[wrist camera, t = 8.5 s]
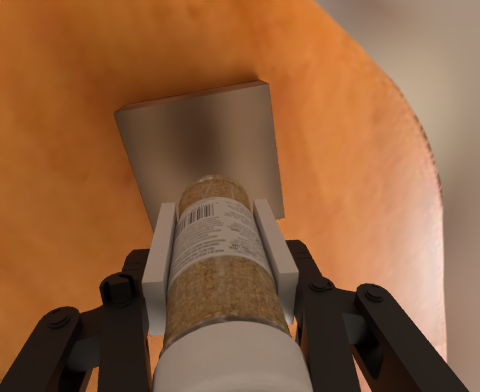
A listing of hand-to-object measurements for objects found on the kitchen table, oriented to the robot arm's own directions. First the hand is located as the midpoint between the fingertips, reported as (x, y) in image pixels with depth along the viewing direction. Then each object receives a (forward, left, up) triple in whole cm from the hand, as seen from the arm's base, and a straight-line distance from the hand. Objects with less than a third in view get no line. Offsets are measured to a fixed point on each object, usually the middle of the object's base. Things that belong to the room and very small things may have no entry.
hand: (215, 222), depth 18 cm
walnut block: (0, 0, -13) cm, 13 cm away
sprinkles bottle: (0, 0, -2) cm, 2 cm away
